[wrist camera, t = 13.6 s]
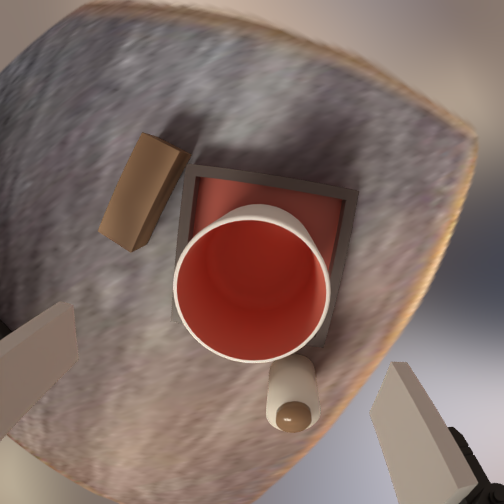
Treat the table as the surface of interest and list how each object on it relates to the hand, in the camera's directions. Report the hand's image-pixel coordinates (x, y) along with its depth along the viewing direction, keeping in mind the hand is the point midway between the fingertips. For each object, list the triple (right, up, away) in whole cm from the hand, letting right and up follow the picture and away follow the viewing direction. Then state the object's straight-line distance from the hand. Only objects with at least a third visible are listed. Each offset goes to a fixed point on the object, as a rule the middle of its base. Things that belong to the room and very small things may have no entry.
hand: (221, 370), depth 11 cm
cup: (+2, +4, +18) cm, 18 cm away
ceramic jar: (+6, -9, +21) cm, 24 cm away
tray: (+2, +4, +18) cm, 19 cm away
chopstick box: (-9, +10, +18) cm, 23 cm away
